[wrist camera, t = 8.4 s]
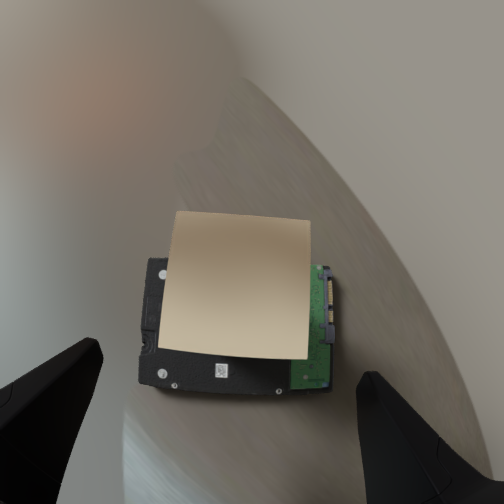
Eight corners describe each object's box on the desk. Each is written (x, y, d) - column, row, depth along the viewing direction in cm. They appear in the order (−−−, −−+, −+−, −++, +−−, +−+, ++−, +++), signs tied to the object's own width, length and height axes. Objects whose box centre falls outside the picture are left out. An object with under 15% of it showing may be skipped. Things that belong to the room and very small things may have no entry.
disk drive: (149, 382, 21) (326, 388, 21) (137, 386, 18) (336, 392, 18) (156, 266, 24) (324, 269, 24) (145, 256, 21) (332, 259, 21)
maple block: (268, 349, 19) (307, 359, 8) (205, 344, 19) (157, 347, 8) (271, 288, 21) (310, 220, 9) (211, 283, 21) (176, 210, 9)
